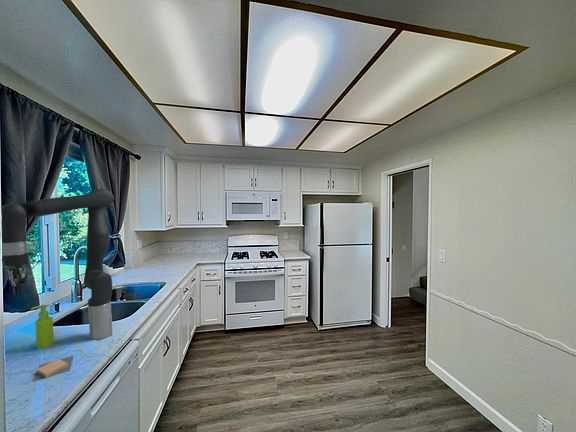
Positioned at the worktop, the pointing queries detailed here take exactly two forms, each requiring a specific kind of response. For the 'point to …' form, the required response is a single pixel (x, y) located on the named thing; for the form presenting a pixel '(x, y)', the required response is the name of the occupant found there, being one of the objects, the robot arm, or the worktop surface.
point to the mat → (67, 360)
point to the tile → (52, 367)
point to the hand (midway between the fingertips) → (18, 294)
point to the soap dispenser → (44, 328)
